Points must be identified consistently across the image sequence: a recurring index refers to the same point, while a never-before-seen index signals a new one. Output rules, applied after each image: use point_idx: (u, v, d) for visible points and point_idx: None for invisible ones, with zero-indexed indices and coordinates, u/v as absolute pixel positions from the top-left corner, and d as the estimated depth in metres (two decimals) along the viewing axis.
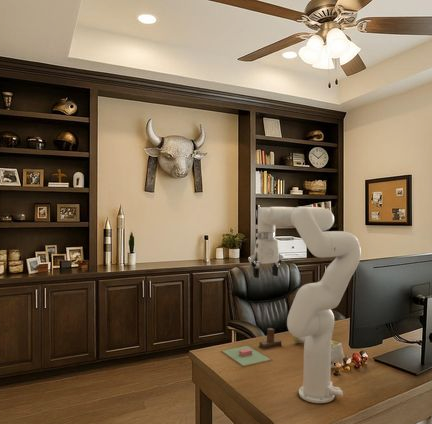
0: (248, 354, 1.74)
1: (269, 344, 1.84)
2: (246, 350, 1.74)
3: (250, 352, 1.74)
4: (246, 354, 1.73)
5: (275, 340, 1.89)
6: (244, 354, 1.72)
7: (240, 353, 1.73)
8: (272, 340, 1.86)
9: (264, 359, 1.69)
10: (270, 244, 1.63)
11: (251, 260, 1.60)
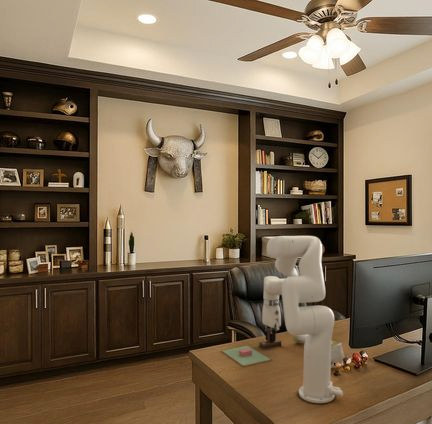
0: (248, 354, 1.74)
1: (269, 344, 1.84)
2: (246, 350, 1.74)
3: (250, 352, 1.74)
4: (246, 354, 1.73)
5: None
6: (244, 354, 1.72)
7: (240, 353, 1.73)
8: None
9: (264, 359, 1.69)
10: None
11: None
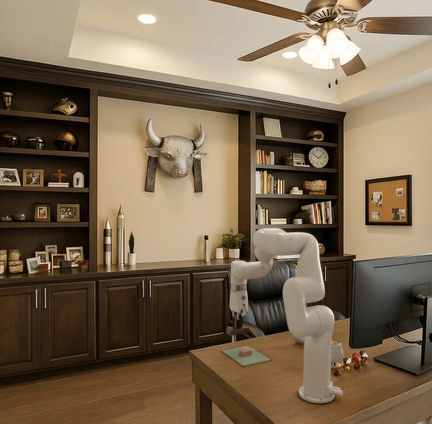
0: (248, 354, 1.74)
1: (236, 330, 1.78)
2: (246, 350, 1.74)
3: (250, 352, 1.74)
4: (246, 354, 1.73)
5: (243, 326, 1.82)
6: (244, 354, 1.72)
7: (240, 353, 1.73)
8: None
9: (264, 359, 1.69)
10: None
11: None
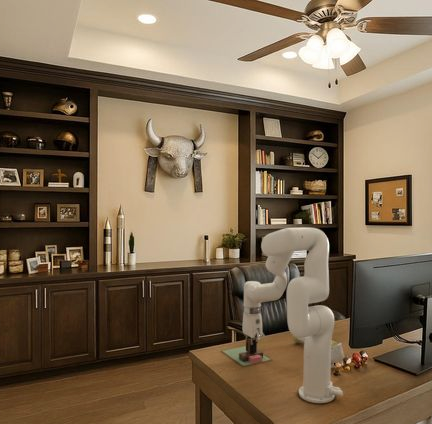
0: (258, 360, 1.66)
1: None
2: (256, 356, 1.67)
3: (260, 358, 1.67)
4: (256, 360, 1.66)
5: None
6: (254, 360, 1.65)
7: (249, 359, 1.66)
8: None
9: (264, 359, 1.69)
10: None
11: None
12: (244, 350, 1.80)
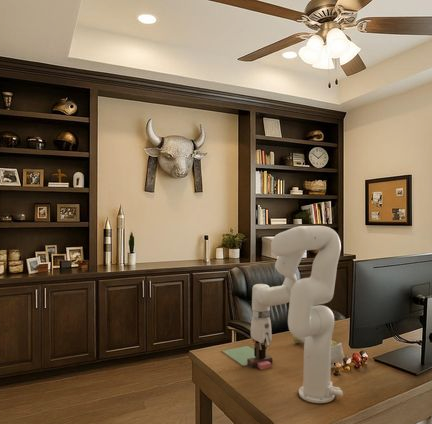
0: (267, 367, 1.60)
1: (258, 361, 1.62)
2: (265, 363, 1.61)
3: (269, 365, 1.61)
4: (265, 367, 1.60)
5: None
6: (263, 367, 1.59)
7: (258, 366, 1.60)
8: None
9: None
10: None
11: None
12: (244, 350, 1.80)
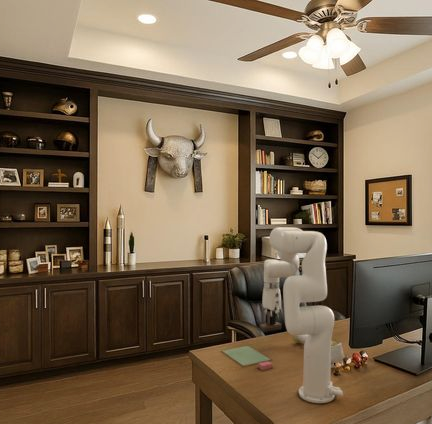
0: (268, 367, 1.60)
1: (269, 327, 1.84)
2: (266, 363, 1.61)
3: (270, 365, 1.60)
4: (266, 368, 1.59)
5: None
6: (264, 368, 1.59)
7: (259, 366, 1.60)
8: None
9: (264, 359, 1.69)
10: None
11: None
12: (244, 350, 1.80)
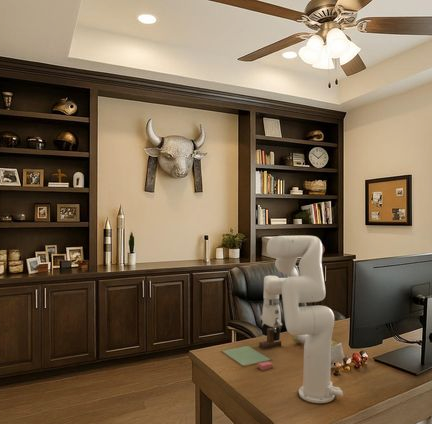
0: (268, 367, 1.60)
1: (269, 344, 1.84)
2: (266, 363, 1.61)
3: (270, 365, 1.60)
4: (266, 368, 1.59)
5: None
6: (264, 368, 1.59)
7: (259, 366, 1.60)
8: (272, 340, 1.86)
9: (264, 359, 1.69)
10: None
11: None
12: (244, 350, 1.80)
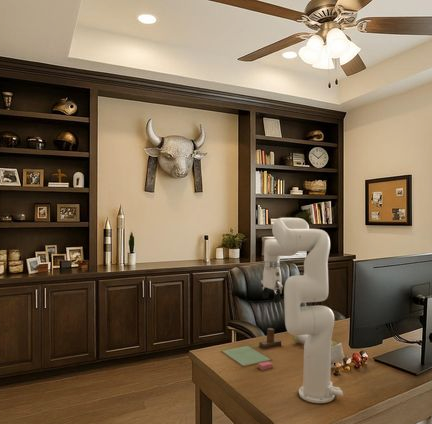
0: (268, 367, 1.60)
1: (269, 344, 1.84)
2: (266, 363, 1.61)
3: (270, 365, 1.60)
4: (266, 368, 1.59)
5: (275, 340, 1.89)
6: (264, 368, 1.59)
7: (259, 366, 1.60)
8: (272, 340, 1.86)
9: (264, 359, 1.69)
10: None
11: None
12: (244, 350, 1.80)
